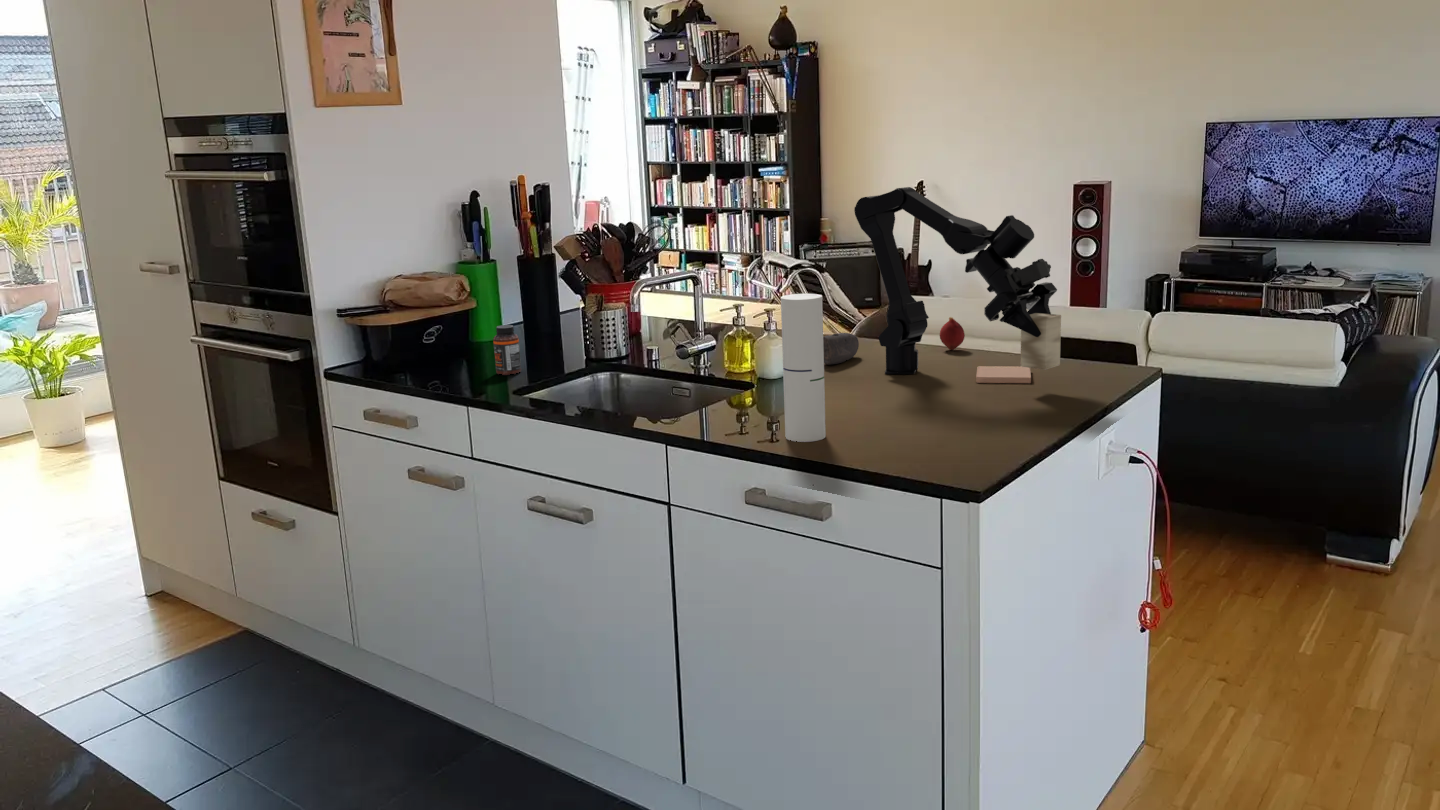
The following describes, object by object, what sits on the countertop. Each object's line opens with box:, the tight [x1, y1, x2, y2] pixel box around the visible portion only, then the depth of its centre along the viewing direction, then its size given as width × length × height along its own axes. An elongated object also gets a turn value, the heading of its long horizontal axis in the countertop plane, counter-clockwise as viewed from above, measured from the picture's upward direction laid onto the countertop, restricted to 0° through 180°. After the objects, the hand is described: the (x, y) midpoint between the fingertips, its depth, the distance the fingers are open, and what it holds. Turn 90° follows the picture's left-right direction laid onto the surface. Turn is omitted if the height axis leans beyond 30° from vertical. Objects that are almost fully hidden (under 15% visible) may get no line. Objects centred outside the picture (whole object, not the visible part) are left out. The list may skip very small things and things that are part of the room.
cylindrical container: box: [780, 293, 826, 443], centre depth 196 cm, size 7×7×25 cm
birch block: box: [1019, 313, 1062, 370], centre depth 222 cm, size 6×6×10 cm
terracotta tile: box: [975, 365, 1032, 384], centre depth 238 cm, size 11×11×1 cm
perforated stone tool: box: [823, 332, 860, 366], centre depth 261 cm, size 15×5×7 cm, turn 140°
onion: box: [939, 316, 966, 351], centre depth 268 cm, size 6×6×8 cm
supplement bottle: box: [492, 324, 522, 376], centre depth 266 cm, size 6×6×11 cm
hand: (1047, 333), depth 220 cm, fingers closed on birch block, 5 cm apart
